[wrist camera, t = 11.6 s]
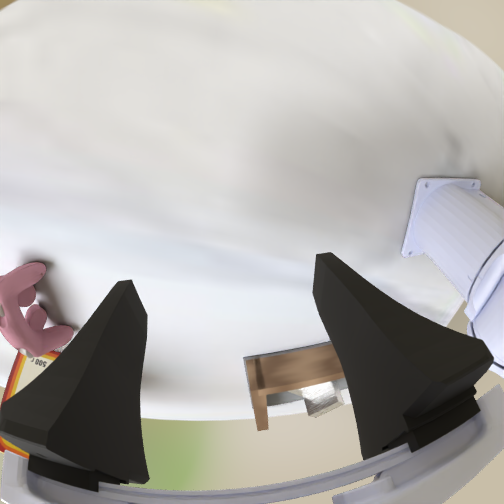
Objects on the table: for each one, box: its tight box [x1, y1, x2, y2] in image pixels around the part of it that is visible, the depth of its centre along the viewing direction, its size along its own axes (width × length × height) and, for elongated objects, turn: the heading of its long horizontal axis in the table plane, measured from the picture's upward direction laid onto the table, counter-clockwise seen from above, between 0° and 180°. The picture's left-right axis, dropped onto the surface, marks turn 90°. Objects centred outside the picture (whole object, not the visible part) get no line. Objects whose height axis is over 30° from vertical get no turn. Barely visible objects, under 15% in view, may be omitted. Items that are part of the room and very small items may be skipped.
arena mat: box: [243, 341, 348, 409], centre depth 34 cm, size 18×15×1 cm
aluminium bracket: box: [288, 380, 345, 417], centre depth 32 cm, size 6×4×5 cm
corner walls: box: [246, 342, 345, 431], centre depth 33 cm, size 18×15×4 cm
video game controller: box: [0, 262, 74, 359], centre depth 19 cm, size 10×5×7 cm, turn 174°
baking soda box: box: [0, 350, 61, 459], centre depth 21 cm, size 10×6×16 cm
